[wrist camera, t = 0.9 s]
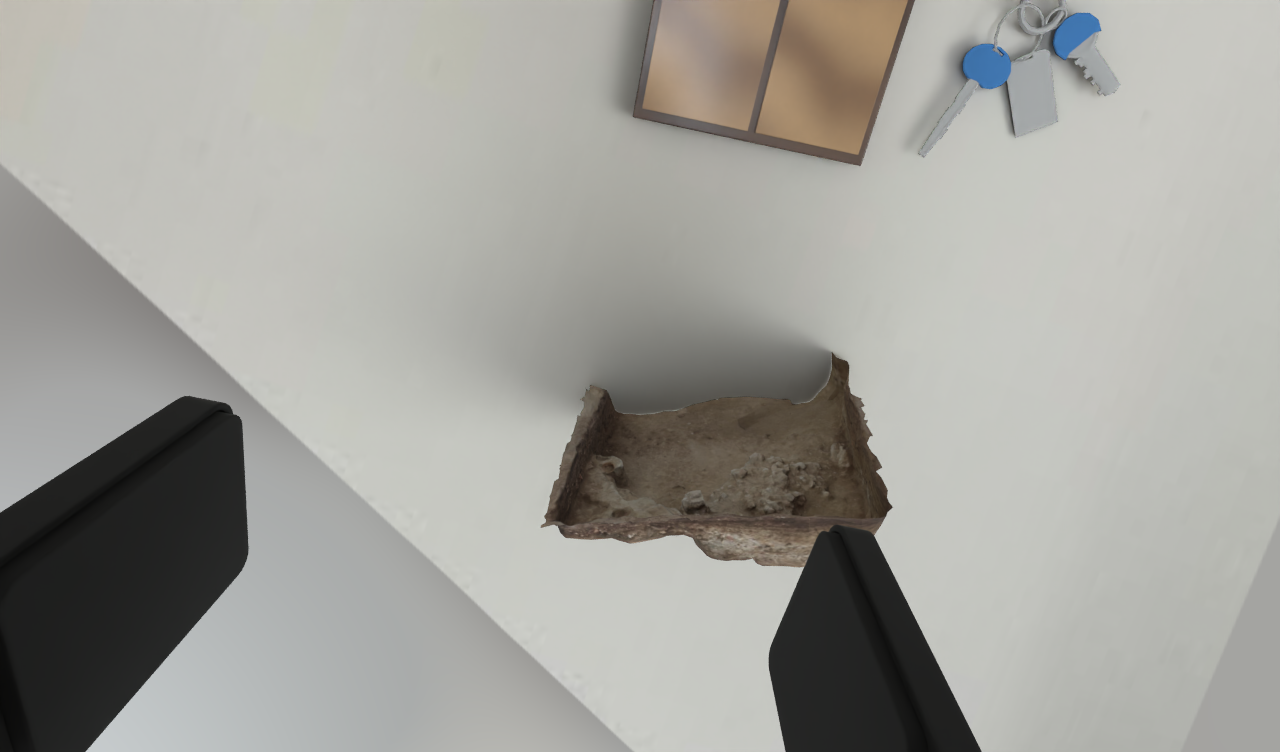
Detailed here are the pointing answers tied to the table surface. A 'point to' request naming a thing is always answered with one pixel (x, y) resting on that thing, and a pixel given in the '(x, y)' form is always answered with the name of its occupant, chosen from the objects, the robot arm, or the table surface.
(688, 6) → the game board
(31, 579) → the robot arm
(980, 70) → the key chain
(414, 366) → the table surface
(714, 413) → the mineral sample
